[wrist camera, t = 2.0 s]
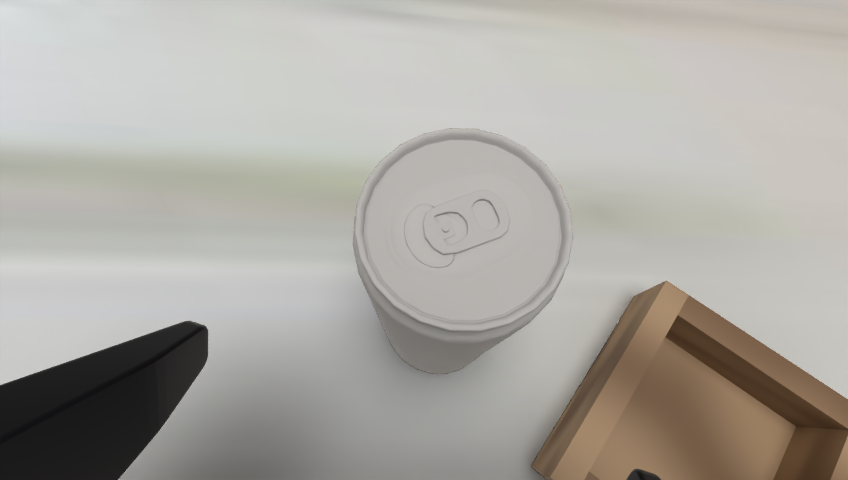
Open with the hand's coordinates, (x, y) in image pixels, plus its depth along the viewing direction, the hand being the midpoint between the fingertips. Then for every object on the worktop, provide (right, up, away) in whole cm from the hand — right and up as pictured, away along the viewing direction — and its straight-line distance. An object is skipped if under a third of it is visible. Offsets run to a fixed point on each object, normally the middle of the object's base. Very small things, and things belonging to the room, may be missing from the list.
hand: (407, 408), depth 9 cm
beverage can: (+1, 0, +12) cm, 12 cm away
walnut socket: (+11, -5, +10) cm, 16 cm away
